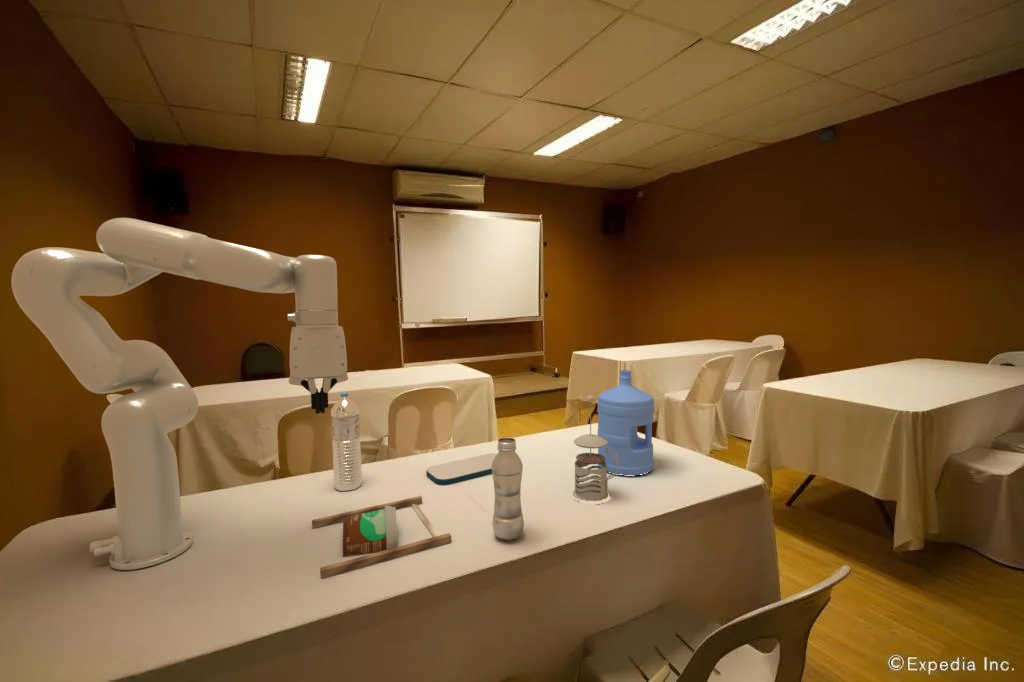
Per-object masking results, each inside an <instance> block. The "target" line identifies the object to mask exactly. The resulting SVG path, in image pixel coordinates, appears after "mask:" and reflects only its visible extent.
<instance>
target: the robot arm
mask: <svg viewBox="0 0 1024 682" xmlns="http://www.w3.org/2000/svg"><path fill="white" fill-rule="evenodd" d="M95 238H96V239H95V240H96V243H97V245H98V248H99V249H100V251H101V252H97V251H89V250H84V249H77V248H72V247H71V248H69V247H58V246H57V247H55V246H54V247H53V246H52V247H51V246H50V247H49V246H48V247H41V248H37V249H33V250H30V251H28V252H26V253H24V254H23V255H22V256H21V257H19V259H18V261H17V262H16V263H15V266H14V267H13V270H12V273H11V280H10V281H11V289H12V291H11V292H12V294H13V297H14V298H15V301H16V303H17V304H18V306H19V308H20V309H21V310H22V311H23V313H24V314H25V316H27V318H29V320H30V321H31V322H32V323H33V324H34V325H35V326H36V327H37V328H38V329H39V330H40V332H41V333H42V334H43V335H44V336H45V338H46V339H47V340H48V341H49V342H50V344H51V345H52V347H53V349H54V350H55V351H56V354H57V355H58V356H59V357H60V358H61V360H62V361H63V362H64V364H66V366H67V367H68V369H69V370H70V371H71V373H72V374H73V375H74V376H75V379H77V380H78V382H79V383H80V384H81V385H82V386H83V387H84V388H85V389H86V390H87V391H89V392H91V393H94V394H99V395H100V394H102V395H103V394H104V395H105V394H113V393H117V392H121V391H125V390H130V389H132V391H133V392H131V393H127V394H125V395H123V396H121V397H118V398H117V399H115V400H113V401H112V402H111V403H110V404H109V405H107V407H106V409H105V410H104V411H103V413H102V416H101V421H100V422H101V423H100V424H101V430H102V434H103V437H104V439H105V442H106V445H107V447H108V451H109V456H110V460H111V469H112V477H113V488H114V496H115V497H114V499H115V507H116V508H115V510H116V520H117V521H116V522H117V531H118V533H117V534H118V535H114V536H112V538H108V539H100V540H95V541H91V542H90V544H89V553H90V554H91V553H93V556H94V557H97V556H102V555H105V554H109V553H110V554H111V555H110V556H109V558H108V559H109V565H110V567H111V568H113V569H115V570H121V571H122V570H123V571H132V570H139V569H143V568H148V567H151V566H154V565H158V564H162V563H163V562H167V561H168V560H171V559H174V558H175V557H177V556H179V555H180V554H182V553H184V552H185V551H186V550H188V549H189V548H190V547H191V546H192V544H193V543H194V536H193V533H192V532H191V531H188V530H183V516H182V505H181V503H182V502H181V491H180V478H179V467H178V465H179V464H178V457H177V454H176V450H175V447H174V446H173V444H172V442H171V440H170V438H169V436H168V434H169V433H170V432H173V431H175V430H177V429H180V428H182V427H185V426H186V425H188V424H189V423H191V422H192V421H194V419H195V418H196V416H197V414H198V412H199V401H198V397H197V394H196V393H195V390H194V389H193V388H192V386H191V384H189V382H188V381H187V379H186V378H185V377H184V375H183V374H182V372H181V371H180V370H179V368H178V367H177V365H176V364H175V362H174V361H173V360H172V358H171V356H169V355H168V353H167V352H166V351H165V350H164V349H163V348H161V347H160V346H158V345H157V344H155V343H154V342H151V341H148V340H142V339H130V340H123V339H121V338H120V336H119V335H117V333H116V332H115V331H114V330H113V329H112V327H111V326H110V324H109V323H108V321H107V320H106V318H105V317H103V315H102V314H101V313H100V312H99V311H98V310H96V309H95V308H93V306H91V305H89V304H88V303H86V302H85V301H84V300H83V299H82V298H81V297H80V296H84V297H85V296H87V297H88V296H89V297H91V296H92V297H113V296H118V295H122V294H125V293H127V292H129V291H130V290H132V289H135V288H137V287H138V286H140V285H142V284H143V283H145V282H148V281H150V280H151V279H153V278H155V277H157V276H159V275H160V274H162V273H168V274H172V275H175V276H180V277H181V276H182V277H185V278H189V279H192V280H201V281H206V282H211V283H214V284H219V285H222V286H227V287H232V288H237V289H243V290H244V291H245V290H247V291H250V292H257V293H271V294H281V295H282V294H291V293H295V294H294V297H295V299H294V300H295V311H294V312H292V313H287V321H288V322H289V321H291V322H294V323H295V326H292V327H291V333H290V341H289V378H288V384H289V385H292V386H293V385H294V386H300V387H303V388H304V389H305V390H307V391H308V392H309V394H310V408H311V410H314V412H315V414H316V415H318V414H320V413H321V414H325V413H326V409H327V408H329V393H330V391H331V389H333V387H335V385H336V384H340V383H343V382H345V381H348V379H349V376H348V373H347V372H348V357H347V356H348V355H347V347H346V345H347V344H346V337H345V332H344V328H343V326H340V325H339V311H338V310H339V308H338V304H339V303H338V302H339V301H338V300H339V299H338V267H337V262H336V260H335V259H334V258H333V257H332V256H329V255H321V254H302V255H298V256H297V257H293V256H286V255H284V254H283V255H282V254H279V253H277V252H273V251H269V250H265V249H260V248H256V247H255V248H254V247H250V246H247V245H242V244H237V243H233V242H228V241H224V240H219V239H215V238H211V237H208V235H205V234H202V233H200V232H194V231H189V230H185V229H182V228H181V229H180V228H175V227H172V226H169V225H167V226H166V225H164V224H159V223H154V222H150V221H145V220H141V219H137V218H133V217H132V218H131V217H116V218H111V219H109V220H106V221H104V222H103V223H102V224H101V225H100V226H99V227H98V229H97V230H96V235H95ZM315 379H322V384H321V388H320V391H319V389H318V388H317V385H316V381H315Z"/></svg>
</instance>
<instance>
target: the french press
mask: <svg viewBox="0 0 1024 682" xmlns="http://www.w3.org/2000/svg"><path fill="white" fill-rule="evenodd" d="M595 399H596V398H595V397H594V396H593V395H587V397H586V401H587V402H589V411H590V412H589V414H590V415H589V417H590V418H589V419H590V420H589V421H590V422H589V423H590V424H589V431H590V433H589V434H588V433H587V434H582V435H580V436H578V437H576V438H575V439H574V440H573V443H574V445H575V446H577V447H580V448H583V449H590V450H589V451H590V452H583V453H579V454H577V455H576V456H575V459H576V461H574V490H573V491H572V492H573V496H574V497H575V498H577V499H580V500H585V501H594V502H595V501H601V500H603V499H606V498H607V497H608V493H609V492H608V487H609V486H608V482H609V481H608V480H612V479H613V478H614V477H615V476H617V475H616V473H617V471H618V468H619V459H618V456H617V454H616V453H615V452H614V451H613V450H612V449H610V448H607V450H606V455H607V453H608V451H609V450H608V449H610V450H612V451H613V452H614V453H615V454H616V456H617V458H616V456H615V455H614V454H613V453H612V452H611V451H609V452H611V453H612V454H613V455H614V456H615V458H616V461H617V470H616V472H615V473H614V474H611V475H607V473H608V472H607V464H606V463H605V462H604V461H605V460H606V459H605V457H604V456H603V455H600V454H598V453H595V452H592V449H593V450H594V449H598V448H602V447H605V446H606V445H607V440H605V439H603V438H602V437H600V436H598V434H594V433H593V434H592V402H595ZM617 459H618V460H617ZM598 464H600V465H602V466H603V467H604V468H601V467H599V466H598ZM589 465H591V466H589ZM587 466H589V467H587ZM584 467H587V468H584ZM590 475H591V476H590ZM589 480H590V481H589ZM587 481H588V482H587Z"/></svg>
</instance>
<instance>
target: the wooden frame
mask: <svg viewBox="0 0 1024 682" xmlns="http://www.w3.org/2000/svg"><path fill="white" fill-rule="evenodd" d="M422 504H423V497H422V496H421V495H419V496H414V497H411V498H404V499H402V500H401V499H400V500H397V501H391V502H386V503H382V504H379V505H378V504H377V505H374V506H373V505H372V506H369V507H364V508H360V509H355V510H351V511H346V512H342V513H338V514H337V513H336V514H332V515H327V516H324V517H319V518H314V519H311V527H312V529H316V528H317V529H318V528H321V527H325V526H330V525H335V524H338V523H342V522H343V521H344V518H346V517H350V516H355V515H359V514H364V513H368V512H373V511H378V510H382V509H385V506H392V507H395V509H396V510H400V509H405V508H409V507H411V508H412V509H413V510H414V512H415V513H416V515H417V516H418V518H419V519H420V520H421V523H422V524H424V526H425V528H426V529H427V531H428V532H429V533H430V535H431V536H432V537H428V538H426V539H422V540H418V541H414V542H411V543H406V544H403V545H400V546H399V545H398V547H395V548H391V549H388V550H384V551H380V552H377V553H370V554H364V555H363V556H358V557H354V558H351V559H348V560H344V561H340V562H337V563H332V564H329V565H325V566H321V567H320V568H319V569H320V570H319V574H320V578H321V580H323V579H325V578H330V577H333V576H336V575H340V574H344V573H346V572H351V571H355V570H358V569H362V568H365V567H369V566H372V565H376V564H380V563H383V562H386V561H390V560H394V559H397V558H400V557H404V556H408V555H412V554H414V553H418V552H422V550H423V551H426V550H429V549H432V548H437V547H440V546H443V545H447V544H450V543H452V535H451V533H450V532H448V533H444V534H439V533H438V532H437V529H436V528H435V527H434V526H433V524H432V523H431V522H430V521H429V518H427V516H426V514H425V513H424V512H423V510H421V508H420V507H419V505H422Z"/></svg>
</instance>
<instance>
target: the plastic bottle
mask: <svg viewBox="0 0 1024 682" xmlns="http://www.w3.org/2000/svg"><path fill="white" fill-rule="evenodd" d="M516 442H517V441H516V439H515V437H514V438H513V437H509V436H508V437H506V436H505V437H501V438H499V439H497V451H498V452H497V453H496V454H497V455H496V456H495V458H494V460H493V462H492V466H491V467H492V474H491V476H492V480H493V487H494V489H493V490H494V505H493V506H494V508H493V509H494V510H493V515H492V525H491V526H492V530H493V533H494V535H495V536H496V537H497V538H498V539H501V541H502V540H503V541H513V540H516V539H518V538H520V536H521V535H523V532H524V526H525V520H524V515H523V511H522V503H521V499H522V498H521V486H522V485H521V484H522V476H523V467H524V466H523V462H522V459H521V458H520V457H519V454H517V452H516V450H517V445H516V444H517V443H516Z"/></svg>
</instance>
